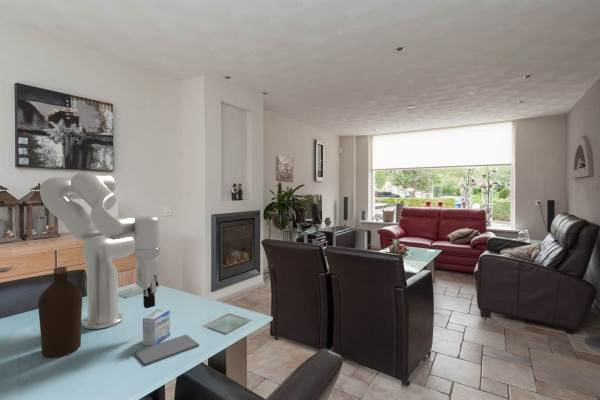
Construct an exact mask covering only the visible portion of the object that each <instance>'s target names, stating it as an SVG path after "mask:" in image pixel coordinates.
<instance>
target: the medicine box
mask: <svg viewBox="0 0 600 400" xmlns="http://www.w3.org/2000/svg"><path fill="white" fill-rule="evenodd" d="M170 312H171V311H170V309H161V308H160V309H157V310H155V311H153V312H151V313H149V314H148V315H147V316H145V317H142V345H144V346H152V345H155V344H158V343H162V342H164V341H165V339H167V338H168V337H169V336H171V313H170ZM163 340H164V341H163Z"/></svg>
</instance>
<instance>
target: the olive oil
mask: <svg viewBox="0 0 600 400" xmlns="http://www.w3.org/2000/svg"><path fill="white" fill-rule="evenodd" d="M67 269H68V268H67V266H57V267H54V268H53V273H52V275H53V280H52V282H51V283H50V285H48V287H46V288H45V289H44V290H43V292H41V294H40V296H39V298H38V301H37V308H38V317H39V328H40V329H39V330H40V343H41V344H40V345H41V356H42V357H44V358H48V359H52V358H53V359H54V358H55V357H56V358H61V357H64V355H65V356H68V355H70V354H72V352H73V353H75V352H76V351H78V350H79V349H80V348H81V346H82V318H83V317H82V312H83V294H82V291H81V289H80V287H78V286H77V285H76V284H74V283H73V282H72V281H70V280H69V279H68V270H67ZM79 347H80V348H79ZM78 348H79V349H78ZM77 349H78V350H77ZM74 351H75V352H74ZM69 353H70V354H69ZM67 354H68V355H67ZM60 356H61V357H60Z"/></svg>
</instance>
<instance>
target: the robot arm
mask: <svg viewBox="0 0 600 400" xmlns="http://www.w3.org/2000/svg"><path fill="white" fill-rule="evenodd" d="M116 187H117V186H116V180H115V178H114V177H113V176H111V175H110V174H108V173H104V172H88V171H84V172H79V173H77V174H75V175H73V176H71V177H68V176H57V177H55V176H54V177H51V178H47V179H45V180H44V181H42V182H41V185H40V187H39V192H40V193H39V194H40V198H41V201H42V203H43V205H44V207H45V208H46V209H47V210H48V211H49V212H50V213H51V214H52V215H54V216H55V217H56V218H57V219H58V220H59V221H60V222H61V223H62V224H63V226H64V227H65V228H66V229H67V231H68V232H70V234H71V235H72V236H73V237H74V238H75V239H76V240H77V241H79V242H82V243H83V242H84V244H83V246H82V254H83V258H84V259H83V260H84V263H85V267H86V286H87V288H86V291H87V293H86V295H87V297H86V298H87V302H86V303H87V318H85V319H84V320H82V327H83V328H85V329H86V330H87V329H88V330H101V329H105V328H110V327H112V326H116V325H117V324H119V323H120V322H122V321H123V320H124V315H123V313H121V312H119V277H118V275H119V274H118V273H119V272H118V269H117V267H116V265H114V263H113V262H112V261H113V260H117V259H123V258H127V257H129V256H131V255H132V254H133V253H135V254H134V255H135V261H136V262H135V284H136V286H138V287H140V288H142V295H143V298H142V300H143V308H145V309H150V308H154V307H155V306H156V296H155V295H156V292H157V288H159V287H160V283H161V274H160V264H159V263H160V262H159V258H160V257H161V250H160V249H161V247H160V245H161V244H160V243H161V242H160V220H159V218H158V217H157V216H153V215H150V216H149V215H148V216H143V215H139V214H137V215H135V214H133V215H123V216H121V215H119V216H113V214H111V213H109V211H110V210H111V209H112V208H113V207H114V206H115V205H116V203H117V195H116V194H115V192H114V191H115V190H116ZM74 200H83V201H84V202H85V203H86V204H87V205H88V206H89V207H90V208H91V212H88V211H87V209H85V208H84V206H82V205H81V204H80V203H78V202H76V201H74Z"/></svg>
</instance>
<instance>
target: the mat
mask: <svg viewBox="0 0 600 400" xmlns="http://www.w3.org/2000/svg"><path fill="white" fill-rule="evenodd" d="M199 346H200V343H198V342H197V341H196V340H194V339H193V338H192V337H190V336H189V335H188V334H183V335H179V336H177V337H175V338H171V339H168V340H166V341H165V340H164V341H161V342H160V343H158V344H155V345H152V346H150V345H148V346H147V347H144V348H140V349H137V350H134V353H133V354H134V355H135V356H136V357H137V358H138V360H139V361H141V363H142V364H143V365H144V366H148V365H151V364H154V363H156V362H160V361H161V360H165V359H167V358H170V357H173V356H175V355H178V354H181V353H184V352H186V351H190V350H191V349H192V350H193V349H195V348H197V347H199Z"/></svg>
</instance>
